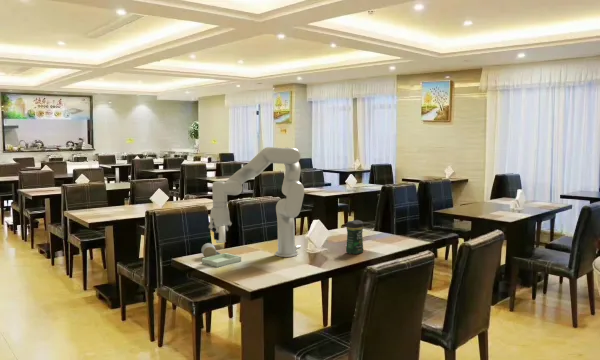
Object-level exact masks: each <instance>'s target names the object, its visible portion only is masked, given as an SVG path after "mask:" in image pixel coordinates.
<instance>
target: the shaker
mask: <svg viewBox="0 0 600 360" xmlns="http://www.w3.org/2000/svg"><path fill="white" fill-rule="evenodd" d="M218 233H219V240H215V243H217V244H223V243H226V242H227V241H226V238H225V225H224V224H222V225H221V226H220V227H219V228H218Z"/></svg>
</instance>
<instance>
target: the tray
mask: <svg viewBox="0 0 600 360" xmlns="http://www.w3.org/2000/svg"><path fill="white" fill-rule="evenodd" d="M239 262H242V256H240V255H235V254H233V253H232V254H231V253H227V252H225V253H220V254H219V255H215V256H211V257H206V258H205V257H203V258H201V263H202V264H203V265H206V264H207V265H206V266H211V267H214V268H220V267H224V266H225V267H226V266H229V265H233V264H236V263H239Z"/></svg>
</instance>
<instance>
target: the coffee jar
mask: <svg viewBox="0 0 600 360" xmlns="http://www.w3.org/2000/svg"><path fill="white" fill-rule="evenodd" d="M363 230H364V222H363V221H362V220H359V219H353V220H348V221H347V222H346V233H347V234H346V247H345V248H346V253H348V254H349V255H351V254H352V255H353V254H354V255H359V254H361V253H363V252H364V241H363V232H364V231H363Z"/></svg>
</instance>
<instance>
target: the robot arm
mask: <svg viewBox="0 0 600 360" xmlns="http://www.w3.org/2000/svg"><path fill="white" fill-rule="evenodd" d="M300 160H301V152H300V151H299V150H298V148H295V147H272V146H271V147H270V146H267V147H264V148H263V149H261V150H260V152H259V153H257V154H256V155H255V156H253V158H252V159H251V160H250V161H249V162H248V163H246V164H245V165H244V166H242V167H240V169H238V170H237V171H235V173H233V174H232V175H231V176H230V177H229V178H228V179H227V180H226V181H222V180H220V181H214V182H212V187H211V188H212V207H211V209H210V216H209V217H210V218H209V225H208V229H210V230H211V231H212V233H213V240H215V241H216V240H219V233H218V228H219V227H220V226H221V225H222V224H224V225H225V239H228V231H229V229H230V227H231V226H232V224H233V223H232V221H231V218H230V210H229V207H228V204H229V201H228V196H238V195H240V194H241V193H242V192H243V190H244V189H243V184H244V183H246V182H247V181H249V180H251V179H253V178H255V177H257V176H259V175H260V174H261V173H262V172H263V171H264V170H265V169H266V168H268V167H269V166H270V165H271V164H278V165H279V164H280V165H281V164H282V165H284V167H285V168H284V170H285V171H284V176H283V177H284V178H283V182H282V185H281V193H282V194H283V195H284V196H285V198H281V199H280V200H278V201H277V203H276V205H275V212H276V218H277V219H276V221H277V223H276V224H277V251H276V252H274V255H275V256H277V257H280V258H290V257H291V258H292V257H296V256H297V255H298V254H299V252H298V250H300V249H301V245H296V244H295V243H296V240H295V239H296V238H295V237H296V235H295V231H296V230H295V228H296V227H295V226H296V225H295V218H297V217H298V216H299V214H300V213H301V210H302V205H303V201H304V197H305V187H304V185H303V183H302V182H300V177H301V171H302V170H301V164H300V162H299V161H300Z"/></svg>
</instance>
